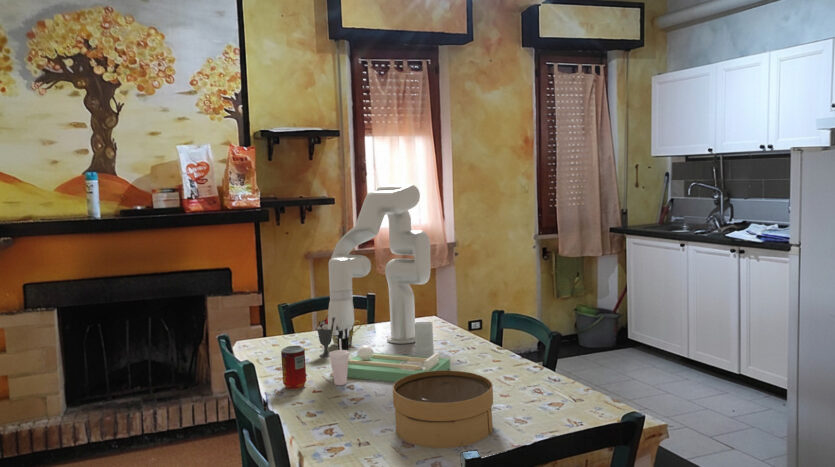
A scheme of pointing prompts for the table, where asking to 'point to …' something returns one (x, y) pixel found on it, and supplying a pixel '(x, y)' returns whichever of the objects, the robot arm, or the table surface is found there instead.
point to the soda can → (293, 367)
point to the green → (394, 366)
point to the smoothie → (339, 365)
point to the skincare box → (424, 339)
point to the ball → (365, 353)
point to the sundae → (324, 336)
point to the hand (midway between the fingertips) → (343, 349)
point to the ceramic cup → (335, 339)
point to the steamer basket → (443, 408)
